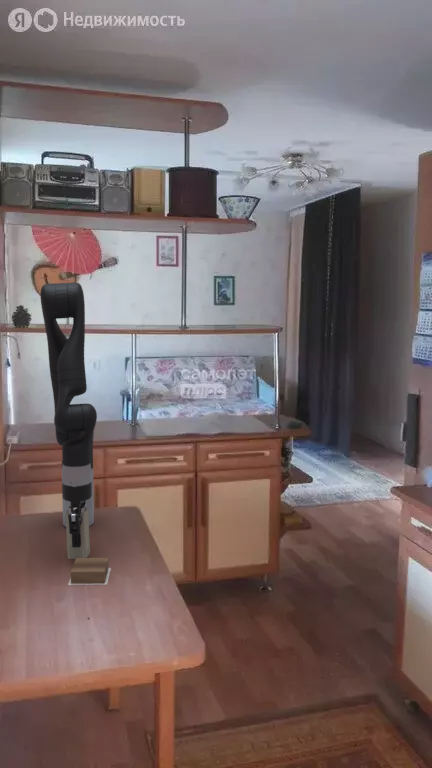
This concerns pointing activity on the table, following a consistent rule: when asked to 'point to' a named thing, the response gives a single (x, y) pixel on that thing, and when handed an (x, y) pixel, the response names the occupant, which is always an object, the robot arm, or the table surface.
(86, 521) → the box
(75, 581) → the base block
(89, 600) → the table surface
